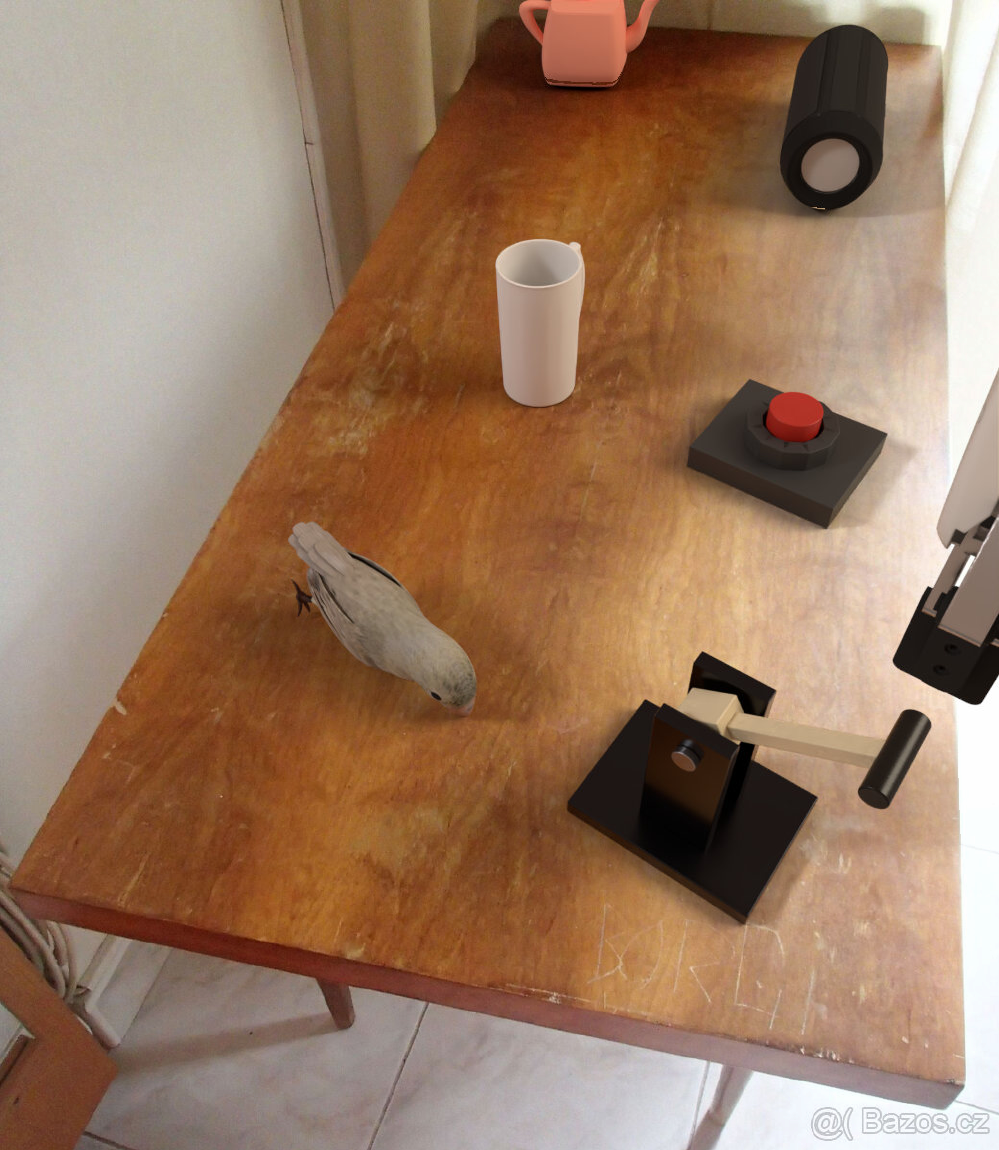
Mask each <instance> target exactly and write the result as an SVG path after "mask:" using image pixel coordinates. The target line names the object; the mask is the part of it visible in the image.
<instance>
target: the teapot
mask: <svg viewBox="0 0 999 1150" xmlns="http://www.w3.org/2000/svg"><path fill="white" fill-rule="evenodd" d="M624 1H625V0H525V1H523V2H521V3H520V5H519V7H518V8H519V9H518V11H519V16H520V19H521V21H522V22H523V24H524V26H525V27H526V29H527V30H528V31H529V32H530V33H531V35H532V36H533V37H534V38H535V40H536V41H537V42H538V43H539V44H540V45H541V47H542V48H541V66H542V72H543V75H544V78H545V77H546V78H547V79H553V80H558V81H571V82H593V83H596V82H613V81H615V80H617V79H618V77H619V76H620V77H621V75H622V73H621V72H623V71H624V66H625V64H626V63H627V58H628V54H629V53H631V52H632V51H634V50H635V49H636V48H638V47H639V46H640V44H641V43H642V42H643V40H644V37H645V35H646V32H647V29H648V26H649V22H650V18H651V15H652V12H653V11H654V8H655V7H656V5H657V4H658V3H659V2H660V1H661V0H644V1H643V2H642V5H641V7H640V10H639V14H638V16H637V18H636V20H635V21H634V22H633V23H632V24H631V25H629V26H628V23H627V15H626V8H625V2H624ZM535 10H543V11H547V15H546V19H545V23H544V29H543V32H542V30H541V29H540V27H539V25H538V23H537V21H536V19H535V16H534V11H535ZM620 74H621V75H620ZM620 77H619V78H620ZM546 78H545V81H546V82H547V84H549V85H550V86H559V87H579V88H580V87H581V88H609V87H613V86H615V85H616V84H617V83H618V81H619V79H618V80H617V81H616V82H615V83H613V84H607V85H592V84H564V83H552V82H548V81H547V80H546Z"/></svg>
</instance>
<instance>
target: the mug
mask: <svg viewBox="0 0 999 1150" xmlns="http://www.w3.org/2000/svg"><path fill="white" fill-rule="evenodd" d="M581 247H582V246H581V243H579V242H576V241H571V242H569V244H567V243H566V242H562V241H559V240H554V239H547V238H536V239H528V240H522V241H519V242H516V243H514V244H511V245H509V246H508V247H506V248H505V249H503V250H502V251H501V252H500V253H499V254H498V256H497V258H496V260H495V274H496V275H495V276H496V292H497V293H496V295H497V309H498V324H499V325H498V327H499V341H500V353H501V354H500V355H501V357H500V358H501V366H502V367H501V368H502V379H503V381H502V383H503V388H504V391H505V393H506V395H507V396H508V397H509V398H511V399H512V400H513V401H514V402H516V403H518V404H521V405H524V406H528V407H535V408H542V407H543V408H544V407H551V406H554V405H557V404H559V403H561V402H563V401H565V400H566V399H567V398H568V397H570V396H571V395H572V393H573V391H574V389H575V386H576V375H577V365H578V362H577V361H578V347H579V327H580V316H581V311H582V306H583V299H584V293H585V284H586V270H585V269H586V267H585V262H584V258H583V254H582V251H581Z"/></svg>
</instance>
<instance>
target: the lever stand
mask: <svg viewBox="0 0 999 1150" xmlns="http://www.w3.org/2000/svg"><path fill="white" fill-rule="evenodd" d="M688 683H689V684H688V688H687V693H686V696H687V695H688V693H689V692H690V691H691V689H692V688H698V689H704V690H710V691H716V692H721V693H727V694H733V695H736V696H737V698H738V700H739V702H740V705H741V707H742V709H743V711H744V714H749V715H755V716H760V717H765V718H770V713H771V711H772V707H773V704H774V701H775V697H776V695H777V692H778V691H777V689H775V688H773V687H772V686H769V685H767V684H765V683H764V682H762V681H760V680H759V679H756V678H754V677H753V676H751V675H749V674H747V673H745V672H743V671H742V670H739V669H738V668H735V667H734V666H732V665H730V664H728V663H726V662H724V661H722V660H721V659H718V658H716V656H713V655H711V654H709V653H708V652H705V651H703V650H702V651H701V652H700V653H699V654H698V656H697V657H696V658H695V660H694V661H693V663H692V667H691V673H690V677H689V682H688ZM759 747H760V745H756V744H751V743H746V742H740V744H739V745H738V744H736V743H735V742H733V741H731V740H729V739H727V738H726V737H724V736H722V735H720V734H719V733H717V732H715V731H713V730H712V729H710V728H708V727H706V726H704V725H703V724H701V723H699V722H697V721H696V720H694V719H692V718H690V717H689V716H687V715H685V714H683V713H681V712H680V711H678V710H677V709H676V708H674V707H673V706H671V705H670V704H667V703H666V702H663V703H662V704H661V706H660V705H657V704H655V703H654V702H652V701H650V700H648V699H644V700H643V701H642V702H641V703H640V705H639V706H638V708H637V709H636V710H635V712H633V715H631V717H630V718H629V719H628V721H627V722H626V723H625V725H624V726H623V727H622V729H621V730H620V732H619V733H618V734H617V735H616V736H615V738H614V740H612V742H611V743H610V745H609V746H608V747H607V749H605V751H604V752H603V754H602V755H601V756H600V758H599V759H598V761H597V762H596V763H595V764H594V766H593V767H592V768H591V770H590V771H589V773H587V775H586V776H585V777H584V779H583V780H582V782H581V783H580V785H578V787H577V788H576V789H575V791H574V792H573V794H572V795H571V796H570V797H569V799H568V800H567V801H566V811H567V812H568V813H570V814H571V815H573V816H574V817H575V818H577V819H579V820H581V821H582V822H584V823H585V824H587V825H588V826H589V827H592V828H593V829H594V830H596V831H598V832H599V833H601V834H602V835H603V836H605V837H607V838H608V839H609V840H612V841H613V842H614V843H616V844H618V845H619V846H621V847H622V848H624V849H625V850H627V851H628V852H630V853H631V854H633V855H635V856H636V857H638V858H639V859H641V860H643V861H644V862H646V863H647V864H649V865H651V867H653V868H655V869H657V870H658V871H659V872H661V873H663V874H664V875H666V876H667V877H668V878H670V879H672V880H674V881H675V882H676V883H678V884H679V885H681V886H683V887H684V888H686V889H687V890H689V891H691V892H692V893H694V894H695V895H697V896H698V897H700V898H701V899H703V900H704V901H706V902H707V903H709V904H710V905H712V906H714V907H715V908H717V909H718V910H720V911H722V912H723V913H724V914H726V915H727V916H729V917H731V918H732V919H734V920H735V921H737V922H738V923H740V924H742V925H743V926H745V925H746V924H747V923H748V921H749V919H750V918H751V916H752V914H753V912H754V910H755V909H756V907H758V906H757V905H758V904H759V902H760V900H761V899H762V897H763V895H764V894H765V892H766V891H767V889H768V887H769V885H770V884H771V882H772V880H773V878H774V877H775V875H776V873H777V871H778V870H779V868H780V867H781V865H782V863H783V861H784V860H785V858H786V856H787V855H788V853H789V852H790V850H791V848H792V847H793V844H794V843H795V841H796V839H797V838H798V836H799V834H800V832H801V831H802V829H803V828H804V826H805V824H806V822H807V820H808V819H809V818H810V815H811V814H812V812H813V810H814V808H815V807H816V804H817V803H818V800H819V797H818V796H817V795H815V794H813V793H812V792H810V791H808V790H807V789H805V788H803V787H802V786H800V785H798V784H796V783H794V782H793V781H791V780H789V779H787V778H786V777H784V776H782V775H781V774H778V772H775V771H774V770H771V769H770V768H768V767H766V766H765V765H763V764H761V763H759V762H757V761H756V757H757V753H758V750H759Z"/></svg>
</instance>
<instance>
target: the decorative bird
mask: <svg viewBox="0 0 999 1150" xmlns="http://www.w3.org/2000/svg"><path fill="white" fill-rule="evenodd" d="M292 532H293V533H292V534H291V535H289V537H288V539H287V542H288V543H289V546H291V547H292V548H293V549H294V550H295V551H296V555H297V556H298V558H299V559H301V561H303V562H304V563H305V564H307V565H308V566H309V567H308V568H307V571H306V581H307V585H308V589H309V592H310V594H311V595H309V594H307V593H306V592H305V591H304V590H302V589H301V587H300V586H299V584H298V583H297V582H296V581H295V580H294V579H291V582H292V584H293V586H294V588H295V590H296V594H295V600H296V601H297V605H298V606H297V607H298V608H297V609H298V610H297V611H298V612H297V618H299V617H300V616H301V614H302V611H303V606H304V607H305V608H306V610H307V612H308V613H311V606H310V605H309V604H314V605H315V606H316V607H318V609H319V611H320V614H321V615H322V618H323V620H324V621H325V623H326V624H327V625H328V627H329V628H330V630H331V631H332V633H333V634H334V635H335V637H336V638H337V639H338V641H339V642H340V643H341V644H342V645H343V646H344V648H345V649H346V650H347V651H348V652H349V653H350V654H351V655H352V656H353V657H355V659H357V660H358V661H360V662H361V663H362V664H364V665H365V666H367V667H369V668H372V669H376V670H379V671H383V672H386V673H388V674H392V675H394V676H396V677H398V678H400V679H404V680H407V681H410V682H415V683H416V684H417V685H418V686H419V687H420V688H421V689H422V690H423V691H424V692H425V693H426V694H427V695H428V696H429V697H430V698H431V699H433V700H435V701H437V702H439V703H440V704H441V705H442V706H443V707H444V708H445V709H447V710H448V711H449V712H450V713H453V714H455V715H457V716H460V717H465V718H467V717H469V716H470V715H471V713H472V711H473V709H474V706H475V702H476V696H477V689H478V687H477V674H476V671H475V669H474V665H473V664H472V661H471V659H470V658H469V656H468V654H467V653H466V651H465V649H463V647H461V646H460V644H459V643H458V642H457V641H456V640H455V639H454V638H452V636H451V635H448V634H447V633H446V632H445V631H443V630H442V629H440V628H439V627H437V626H436V625H435V624H434V623H433V622H431V621H430V620H428V618H427V617H426V616H425V615H424V614H423V612H422V610H421V608H420V606H419V605H418V602H417V601H416V599H415V598H414V596H413V595H412V594H411V593H410V592H409V590H408V589H407V588H406V587H405V585H404V584H403V583H402V581H401V582H400V580H399V579H398V578H397V577H395V575H393V574H392V573H391V572H390V571H389V570H387V569H386V568H385V567H383V566H381V564H379V563H377V562H376V561H374V560H372V559H370V558H368V557H366V556H364V555H361V554H359V553H356V552H354V551H351V550H350V549H349V548H346V547H344V546H342V545H341V544H340V542H339V541H337V540H336V538H335V537H334V536H333V535H332V534H331V533H330V532H329V531H327V530H325V529H323V528H322V527H321V526H320V525H319V524H318V523H317V522H315V521H308V522H307V523H305V522H302V521H300V522H298V523H296V524H295V525H294V526H293V527H292Z"/></svg>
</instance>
